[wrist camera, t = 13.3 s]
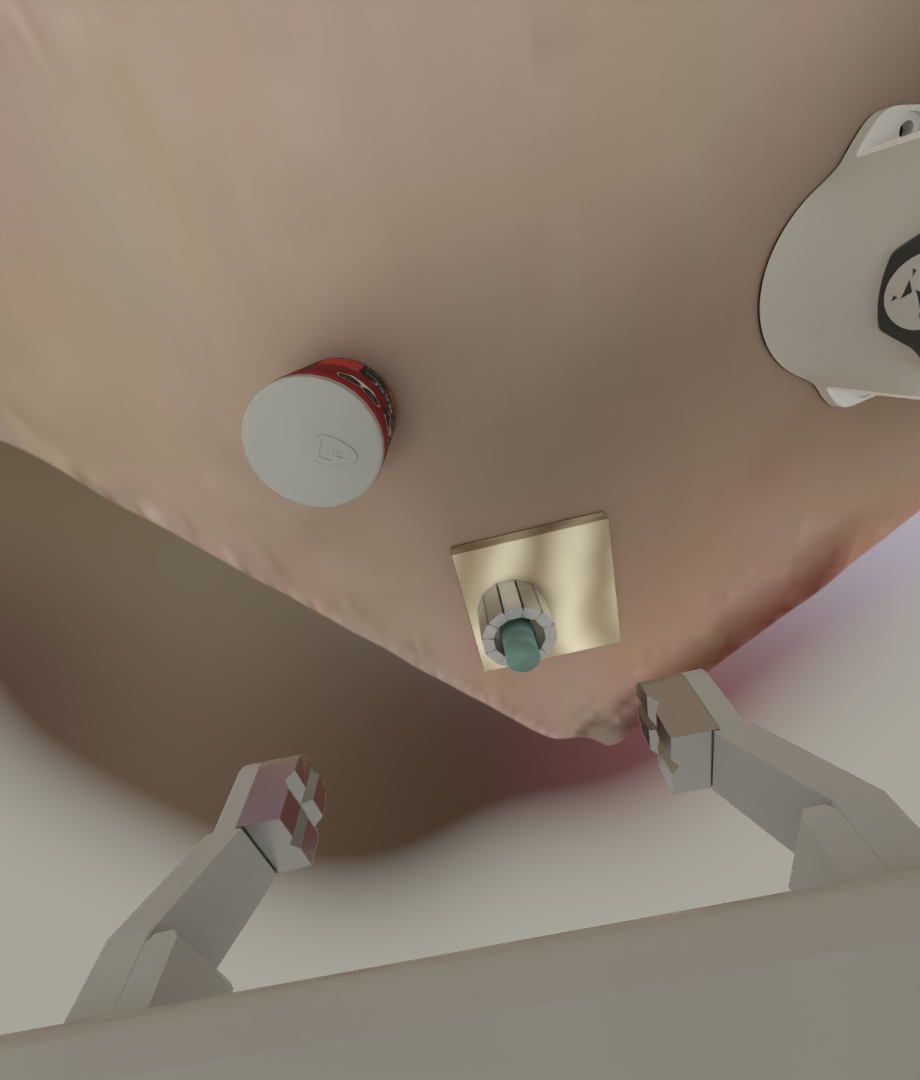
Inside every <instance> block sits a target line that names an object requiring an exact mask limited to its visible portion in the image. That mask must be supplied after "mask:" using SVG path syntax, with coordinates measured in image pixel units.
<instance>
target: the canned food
mask: <svg viewBox="0 0 920 1080" xmlns="http://www.w3.org/2000/svg"><path fill="white" fill-rule="evenodd" d="M395 422H396V407H395V403H394V399H393V396H392V394H391V392H390V390H389V388H388V387H387V385H386V384H385V382H384V381H383V380H382V379H381V378H380V377H379V376H378V375H377V374H376V373H375V372H374V371H373V370H371V369H370V368H368V367H367V366H365V365H363V364H361V363H358V362H356V361H353V360H348V359H344V358H331V359H326V360H321V361H319V362H317V363H314V364H312V365H309V366H307V367H305V368H302V369H300V370H297V371H295V372H293V373H290V374H288V375H285V376H283V377H281V378H278V379H277V380H275V381H273V382H271V383H269V384H268V385H267V386H265V387H264V388H262V389H261V390H260V391H259V392H258V393H257V394H256V396H255V397H254V398H253V399H252V400H251V401H250V403H249V405H248V407H247V409H246V411H245V413H244V417H243V422H242V443H243V447H244V452H245V454H246V457H247V459H248V461H249V463H250V465H251V467H252V468H253V470H254V471H255V473H256V474H257V476H258V477H259V478H260V479H261V480H262V481H263V482H264V483H265V484H266V485H267V486H268V487H270V488H271V489H272V490H273V491H275V492H276V493H277V494H279V495H281V496H283V497H285V498H287V499H288V500H290V501H293V502H296V503H299V504H302V505H307V506H313V507H332V506H338V505H342V504H345V503H347V502H350V501H352V500H354V499H356V498H357V497H359V496H360V495H362V494H363V493H364V492H365V491H366V490H367V489H368V488H369V487H370V486H371V485H372V484H373V482H374V481H375V479H376V478H377V476H378V475H379V473H380V470H381V468H382V465H383V462H384V460H385V457H386V453H387V450H388V447H389V444H390V441H391V437H392V434H393V431H394V428H395Z"/></svg>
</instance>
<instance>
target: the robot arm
mask: <svg viewBox="0 0 920 1080" xmlns="http://www.w3.org/2000/svg"><path fill="white" fill-rule="evenodd" d="M901 126H902V128H903V132H902V135H901V137H900V136H899V130H900V127H901ZM760 321H761V328H762V333H763V336H764V339H765V342H766V345H767V347H768V349H769V351H770V352H771V354H772V355H773V357H774V358H775V359H776V361H777V362H778V363H779V364H780V365H781V366H782V367H784V368H785V369H786V370H788V371H789V372H791V373H792V374H794V375H796V376H799V377H801V378H803V379H805V380H807V381H809V382H811V383H812V384H814V385H815V387H816V388H817V390H818V392H819V393H820V395H821V396H822V398H823V399H824V400H825V401H826V402H827V403H828V404H829V405H831V406H834V407H850V406H853V405H855V404H858V403H860V402H862V401H865V400H867V399H869V398H872V397H874V396H877V395H880V396H889V397H898V398H907V399H917V400H920V104H912V105H896V106H892V107H888V108H885V109H882V110H879V111H877V112H875V113H874V114H873V115H871V116H870V117H869V118H868V120H867V121H866V122H865V123H864V125H863V126H862V127H861V129H860V130H859V132H858V134H857V135H856V137H855V138H854V140H853V142H852V143H851V145H850V147H849V149H848V150H847V152H846V154H845V156H844V158H843V159H842V161H841V163H840V164H839V166H838V167H837V168H836V169H835V171H834V172H833V173H832V174H831V175H830V176H829V177H828V178H827V179H826V180H825V181H824V182H823V183H822V184H821V185H820V186H819V187H818V188H817V189H816V190H815V191H814V192H813V193H812V194H811V195H810V196H809V197H808V198H807V199H806V200H805V201H804V203H803V204H802V205H801V206H800V207H799V209H798V210H797V211H796V213H795V214H794V215H793V217H792V218H791V220H790V221H789V223H788V224H787V226H786V227H785V229H784V231H783V232H782V234H781V236H780V238H779V240H778V241H777V243H776V245H775V248H774V250H773V252H772V254H771V257H770V260H769V262H768V265H767V268H766V272H765V275H764V279H763V284H762V289H761V296H760ZM636 693H637V696H638V698H639V700H640V702H641V704H640V706H639V707H638V715H639V721H640V724H641V728H642V731H643V734H644V736H645V739H646V741H647V743H648V745H649V747H650V749H651V750H653V751H654V752H656V753H657V754H658V757H659V767H660V769H661V771H662V773H663V775H664V777H665V779H666V781H667V783H668V785H669V787H670V789H671V791H672V793H673V794H675V793H682V792H688V791H693V790H699V789H705V788H711V787H712V789H713V790H714V791H715V792H716V793H717V794H719V795H720V796H721V797H723V798H724V799H725V800H727V801H728V802H729V803H730V804H732V805H733V806H734V807H735V808H737V809H738V810H739V811H741V812H742V813H743V814H744V815H746V816H747V817H748V818H750V819H751V820H752V821H753V822H755V823H756V824H757V825H759V826H760V827H761V828H762V829H764V830H765V831H766V832H767V833H769V834H770V835H771V836H773V837H774V838H775V839H777V840H778V841H779V842H780V843H782V844H783V845H784V846H786V847H787V848H788V849H789V850H791V851H792V852H793V853H794V854H795V855H794V860H793V866H792V871H791V877H790V882H789V888H790V890H791V891H789V892H783V893H778V894H772V895H767V896H762V897H757V898H751V899H745V900H740V901H734V902H729V903H723V904H718V905H712V906H707V907H701V908H696V909H691V910H685V911H679V912H674V913H668V914H662V915H658V916H652V917H646V918H640V919H635V920H630V921H624V922H619V923H613V924H607V925H602V926H596V927H591V928H586V929H580V930H574V931H569V932H563V933H558V934H553V935H547V936H541V937H536V938H530V939H525V940H519V941H514V942H508V943H502V944H497V945H492V946H486V947H481V948H475V949H470V950H464V951H459V952H453V953H448V954H442V955H437V956H431V957H426V958H420V959H415V960H409V961H404V962H398V963H393V964H387V965H382V966H376V967H372V968H365V969H360V970H354V971H349V972H343V973H338V974H333V975H328V976H321V977H317V978H310V979H305V980H300V981H294V982H289V983H283V984H277V985H272V986H267V987H261V988H256V989H250V990H245V991H239V992H234V993H232V991H233V987H232V984H231V982H230V981H229V980H228V979H227V978H226V977H225V976H224V975H222V974H221V973H220V972H219V971H218V970H217V967H218V966H219V964H220V963H221V961H222V959H223V958H224V956H225V955H226V953H227V952H228V950H229V949H230V947H231V946H232V944H233V943H234V941H235V940H236V938H237V936H238V935H239V934H240V932H241V930H242V929H243V927H244V926H245V924H246V923H247V921H248V920H249V918H250V916H251V915H252V914H253V912H254V911H255V909H256V907H257V906H258V904H259V903H260V901H261V900H262V898H263V897H264V895H265V894H266V892H267V891H268V889H269V888H270V886H271V885H272V883H273V881H274V880H275V878H276V877H277V874H276V873H280V872H284V871H289V870H293V869H297V868H302V867H306V866H310V865H312V863H313V859H314V854H315V850H316V845H317V841H318V836H319V835H318V833H317V831H316V829H315V825H316V824H317V823H318V822H319V820H320V819H321V818H322V816H323V813H324V808H325V788H324V784H323V781H322V779H321V778H320V776H319V775H318V774H316V773H314V772H312V771H310V769H311V766H312V762H311V761H310V759H309V758H308V756H307V755H298V756H293V757H287V758H282V759H277V760H271V761H265V762H261V763H256V764H251V765H246V766H244V767H243V768H242V770H240V772H239V774H238V776H237V778H236V781H235V783H234V785H233V788H232V790H231V792H230V795H229V797H228V799H227V802H226V804H225V806H224V809H223V811H222V813H221V816H220V818H219V820H218V823H217V825H216V828H215V830H214V832H213V834H209V835H206V836H205V838H203V840H202V841H201V842H200V843H199V844H198V845H197V846H196V847H195V848H194V849H193V850H192V851H191V852H190V853H189V854H188V855H187V856H186V858H185V859H184V860H183V861H182V862H181V863H180V864H179V865H178V866H177V867H176V868H175V869H174V870H173V871H172V872H171V873H170V874H169V876H167V878H166V879H165V880H164V881H163V882H162V883H161V884H160V885H159V886H158V887H157V888H156V889H155V890H154V891H153V892H152V893H151V894H150V896H149V897H148V898H147V899H146V900H145V901H144V902H143V903H142V904H141V905H140V906H139V907H138V908H137V909H136V910H135V911H134V912H133V913H132V914H131V916H130V917H129V918H128V919H127V920H126V921H125V922H124V923H123V924H122V925H121V926H120V927H119V928H118V929H117V930H116V931H115V932H114V933H113V934H112V936H111V937H110V938H109V939H108V940H107V942H106V943H105V945H104V947H103V949H102V951H101V953H100V955H99V957H98V959H97V961H96V963H95V965H94V967H93V969H92V970H91V972H90V974H89V976H88V978H87V980H86V982H85V984H84V986H83V988H82V990H81V992H80V993H79V995H78V997H77V999H76V1001H75V1003H74V1005H73V1007H72V1009H71V1011H70V1013H69V1014H68V1016H67V1018H66V1020H65V1022H64V1024H58V1025H53V1026H47V1027H42V1028H37V1029H31V1030H26V1031H20V1032H14V1033H9V1034H3V1035H0V1080H920V828H919V827H918V826H917V825H916V824H915V823H914V822H913V821H912V820H911V819H910V818H909V817H908V816H907V815H906V813H905V812H904V811H903V810H902V809H901V808H900V807H899V806H898V805H897V804H896V803H895V802H894V801H893V800H892V799H891V798H890V796H889V795H888V794H887V793H886V792H885V791H883V790H881V789H879V788H877V787H875V786H874V785H872V784H870V783H868V782H866V781H864V780H862V779H860V778H858V777H856V776H854V775H852V774H850V773H848V772H847V771H845V770H843V769H841V768H839V767H837V766H835V765H833V764H831V763H829V762H827V761H825V760H823V759H821V758H819V757H818V756H816V755H814V754H812V753H810V752H808V751H806V750H804V749H802V748H800V747H798V746H796V745H795V744H792V743H791V742H789V741H787V740H785V739H783V738H781V737H779V736H777V735H775V734H773V733H771V732H769V731H768V730H766V729H764V728H762V727H760V726H758V725H756V724H754V723H752V724H746V723H745V722H744V720H743V719H742V718H741V717H740V715H739V714H738V713H737V711H736V710H735V709H734V707H733V706H732V705H731V703H730V702H729V701H728V700H727V699H726V697H725V696H724V694H723V693H722V692H721V690H720V689H719V688H718V687H717V685H716V684H715V683H714V681H713V680H712V679H711V677H710V676H709V675H708V674H707V672H706V671H704V670H703V669H698V670H694V671H689V672H684V673H680V674H674V675H670V676H665V677H661V678H656V679H652V680H647V681H643V682H639V683H637V685H636Z"/></svg>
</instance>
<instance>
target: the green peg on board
mask: <svg viewBox="0 0 920 1080" xmlns="http://www.w3.org/2000/svg"><path fill="white" fill-rule="evenodd" d="M451 552H452V558H453V562H454V565H455V569H456V572H457V576H458V579H459V583H460V586H461V590H462V593H463V597H464V600H465V604H466V607H467V611H468V614H469V618H470V621H471V625H472V628H473V632H474V635H475V639H476V642H477V646H478V649H479V653H480V656H481V660H482V664H483V667H484V671H489V670H494V669H498V668H503V667H507V666H502V665H499V663H498V664H497V663H495V662H494V661H493V660H492V659H491V658H489V657H488V656H487V655H486V653H485V651H484V647H483V644H482V640H481V633H480V626H479V619H478V612H477V607H478V604H479V602H480V599H481V596H482V595H484V594H483V593H484V592H485V591H487V590H488V589H489V588H490V587H492V586H493V585H494V584H495V583H496V584H497V585H498V583H497V582H502V581H506V580H510V579H514V582H515V579H519V580H523V581H527V582H531V584H534V585H535V586H536V587H537V588H538V589H539V590H540V591H541V592H542V593H543V595H544V597H545V599H546V602H547V605H548V607H549V610H550V612H551V615H552V617H553V620H554V623H555V627H556V632H557V641H556V643H555V645H554V647H553V649H552V651H551V653H550V652H549V655H548V656H546V657H545V658H548V657H553V656H557V655H562V654H567V653H571V652H576V651H580V650H585V649H589V648H594V647H599V646H603V645H608V644H612V643H617V642H621V641H620V631H619V621H618V610H617V600H616V590H615V580H614V569H613V559H612V549H611V539H610V528H609V518H608V517H607V516H606V515H605V514H604V512H599V513H595V514H591V515H587V516H582V517H578V518H574V519H570V520H565V521H561V522H557V523H553V524H549V525H544V526H540V527H536V528H532V529H528V530H523V531H519V532H515V533H511V534H506V535H502V536H498V537H494V538H490V539H485V540H481V541H477V542H473V543H468V544H464V545H460V546H456V547H452V548H451ZM499 628H500V633H501V638H502V643H503V647H504V652H505V657H506V662H507V665H508V666H509V667H510V668H511V669H512V670H514V671H518V672H526V671H529V670H532V669H533V668H535V667H536V666H537V665H538V664H539V662H540V659H541V656H540V652H539V649H538V646H537V642H536V639H535V636H534V633H533V629H532V626H531V623H530V620H529V619H527V618H523V617H521V618H517V619H512V620H508V621H507V622H506V623H504V624H503V625H502V626H500V627H499ZM543 659H544V658H543Z"/></svg>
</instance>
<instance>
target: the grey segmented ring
mask: <svg viewBox="0 0 920 1080" xmlns="http://www.w3.org/2000/svg"><path fill="white" fill-rule="evenodd" d="M497 583H498V585H497V584H496V583H495V584H494V585H493V586H492V587H490V588H489V589H488V590H487V591H485V592H484V593H483V594H484V595H482V596H481V599H480V602H479V604H478V607H477V612H478V619H479V626H480V633H481V640H482V644H483V647H484V651H485V653H486V655H487V656H488V657H489V658H491V659H492V660H493V661H494V662H495V663H497V664H498V663H499V665H502V666H507V667H509V666H508V665H507V662H506V657H505V652H504V647H503V643H502V638H501V633H500V628H499V627H500V626H502V625H503V624H504V623H506V622H507V621H508V620H512V619H517V618H521V617H523V618H527V619H529V620H530V623H531V626H532V629H533V633H534V636H535V639H536V642H537V646H538V649H539V652H540V656H541V659H540V661H541V660H542V659H543V658H545V657H546V656H548V655H549V652H550V653H551V651H552V649H553V647H554V645H555V643H556V641H557V632H556V627H555V623H554V620H553V617H552V615H551V612H550V610H549V607H548V605H547V602H546V599H545V597H544V595H543V593H542V592H541V591H540V590H539V589H538V588H537V587H536V586H535V585H534V584H531V582H527V581H523V580H519V579H515V582H514V579H510V580H506V581H502V582H497Z"/></svg>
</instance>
